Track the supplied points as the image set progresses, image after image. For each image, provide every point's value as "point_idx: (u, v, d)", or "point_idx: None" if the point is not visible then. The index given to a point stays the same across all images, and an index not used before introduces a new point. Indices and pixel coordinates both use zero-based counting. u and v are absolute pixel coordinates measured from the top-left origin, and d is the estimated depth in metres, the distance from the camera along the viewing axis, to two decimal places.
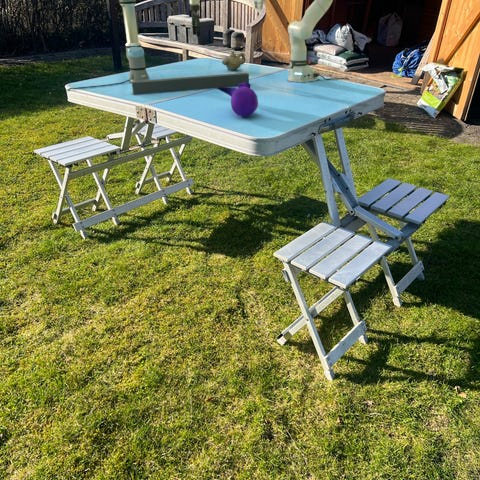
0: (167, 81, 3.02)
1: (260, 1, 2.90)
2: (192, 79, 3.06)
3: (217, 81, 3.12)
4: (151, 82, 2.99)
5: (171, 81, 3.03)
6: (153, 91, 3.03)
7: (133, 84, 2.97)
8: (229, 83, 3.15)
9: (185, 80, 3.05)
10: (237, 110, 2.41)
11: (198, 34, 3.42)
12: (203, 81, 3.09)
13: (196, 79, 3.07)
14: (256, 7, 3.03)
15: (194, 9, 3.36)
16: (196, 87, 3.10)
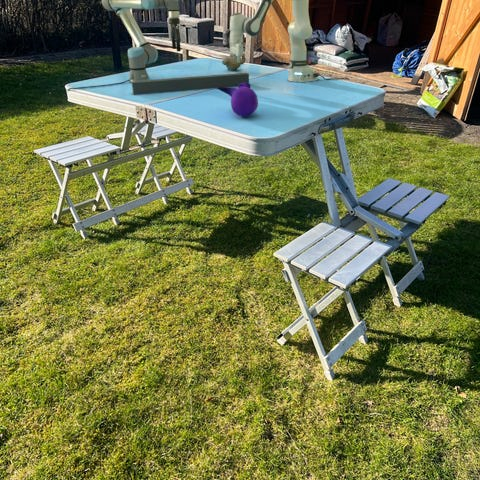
0: (167, 81, 3.02)
1: (237, 55, 3.02)
2: (192, 79, 3.06)
3: (217, 81, 3.12)
4: (151, 82, 2.99)
5: (171, 81, 3.03)
6: (153, 91, 3.03)
7: (133, 84, 2.97)
8: (229, 83, 3.15)
9: (185, 80, 3.05)
10: (237, 110, 2.41)
11: (178, 49, 3.22)
12: (203, 81, 3.09)
13: (196, 79, 3.07)
14: (234, 59, 3.15)
15: (174, 22, 3.16)
16: (196, 87, 3.10)
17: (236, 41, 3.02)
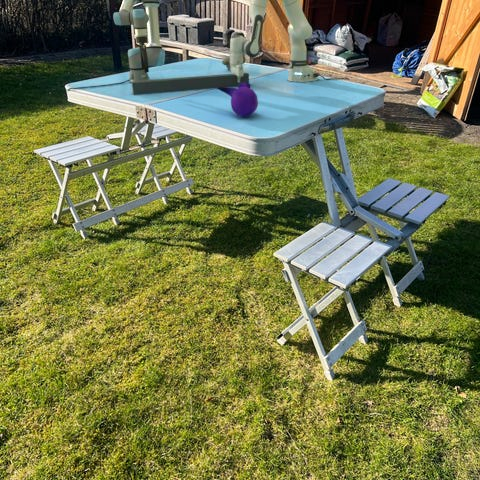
0: (167, 81, 3.02)
1: (238, 76, 3.09)
2: (192, 79, 3.06)
3: (217, 81, 3.12)
4: (151, 82, 2.99)
5: (171, 81, 3.03)
6: (153, 91, 3.03)
7: (133, 84, 2.97)
8: (229, 83, 3.15)
9: (185, 80, 3.05)
10: (237, 110, 2.41)
11: (146, 70, 2.93)
12: (203, 81, 3.09)
13: (196, 79, 3.07)
14: None
15: (140, 41, 2.87)
16: (196, 87, 3.10)
17: (236, 62, 3.09)
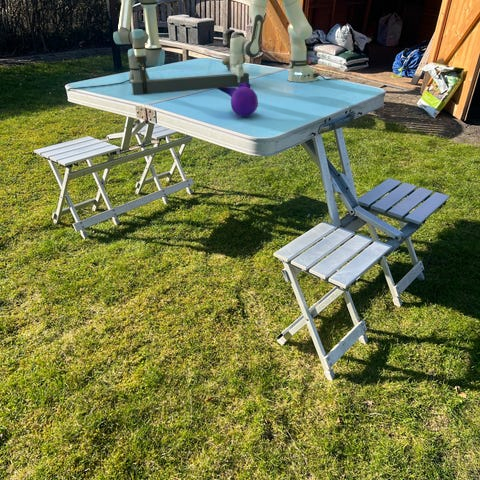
0: (167, 81, 3.02)
1: (238, 76, 3.09)
2: (192, 79, 3.06)
3: (217, 81, 3.12)
4: (151, 82, 2.99)
5: (171, 81, 3.03)
6: (153, 91, 3.03)
7: (133, 84, 2.97)
8: (229, 83, 3.15)
9: (185, 80, 3.05)
10: (237, 110, 2.41)
11: (145, 91, 3.00)
12: (203, 81, 3.09)
13: (196, 79, 3.07)
14: None
15: (140, 61, 2.90)
16: (196, 87, 3.10)
17: (236, 62, 3.09)
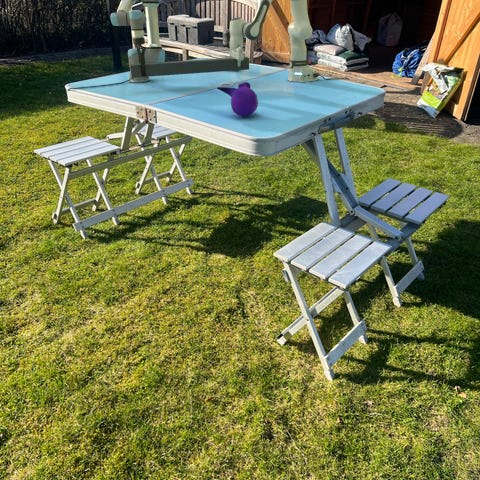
0: (166, 64, 2.97)
1: (238, 60, 3.04)
2: (191, 62, 3.01)
3: (216, 65, 3.07)
4: (150, 65, 2.94)
5: (170, 64, 2.98)
6: (152, 74, 2.98)
7: (131, 67, 2.92)
8: (229, 67, 3.10)
9: (184, 63, 3.00)
10: (237, 110, 2.41)
11: (143, 74, 2.95)
12: (203, 65, 3.04)
13: (195, 63, 3.02)
14: None
15: (137, 43, 2.85)
16: (195, 71, 3.05)
17: (236, 46, 3.03)
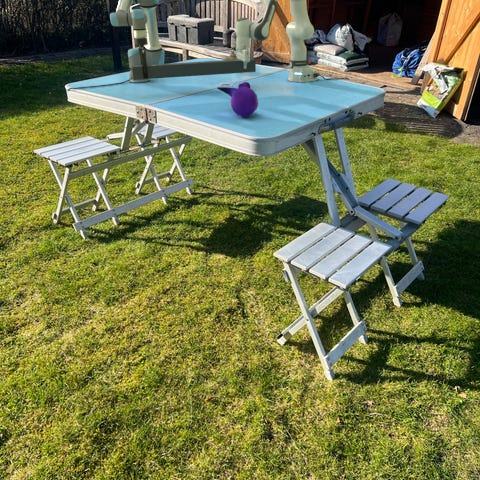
0: (169, 66, 2.84)
1: (244, 62, 2.91)
2: (196, 64, 2.89)
3: (222, 67, 2.94)
4: (152, 67, 2.82)
5: (173, 66, 2.85)
6: (154, 76, 2.85)
7: (133, 68, 2.79)
8: (235, 69, 2.98)
9: (188, 65, 2.88)
10: (237, 110, 2.41)
11: (145, 76, 2.82)
12: (207, 66, 2.92)
13: (200, 64, 2.90)
14: None
15: (140, 43, 2.73)
16: (199, 73, 2.92)
17: (242, 47, 2.91)
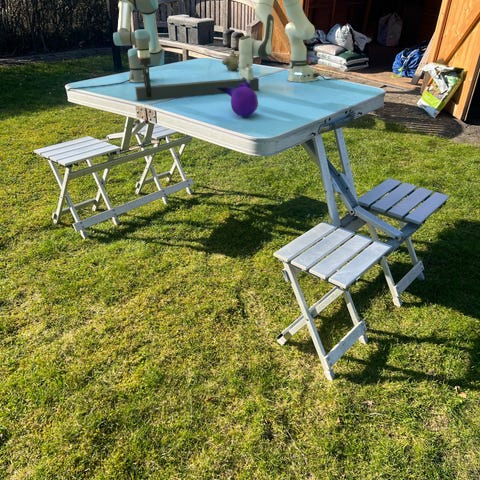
0: (173, 87, 2.86)
1: (247, 79, 2.93)
2: (199, 84, 2.91)
3: (225, 86, 2.96)
4: (156, 88, 2.84)
5: (177, 87, 2.87)
6: (158, 97, 2.87)
7: (137, 90, 2.81)
8: None
9: (192, 85, 2.90)
10: (237, 110, 2.41)
11: (149, 94, 2.83)
12: (211, 86, 2.93)
13: (203, 84, 2.91)
14: None
15: (143, 63, 2.74)
16: (203, 93, 2.94)
17: (245, 65, 2.92)
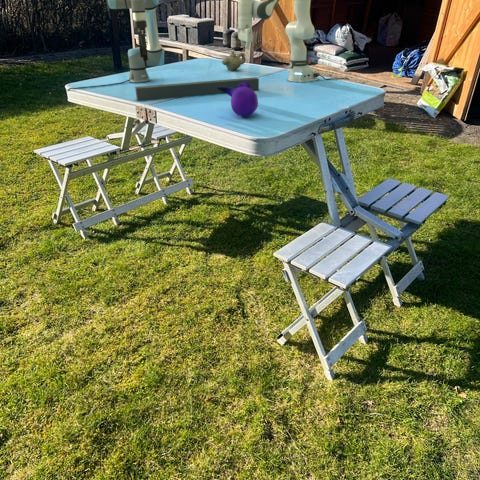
0: (173, 87, 2.86)
1: (246, 41, 2.81)
2: (199, 84, 2.91)
3: (225, 86, 2.96)
4: (156, 88, 2.84)
5: (177, 87, 2.87)
6: (158, 97, 2.87)
7: (137, 90, 2.81)
8: None
9: (192, 85, 2.90)
10: (237, 110, 2.41)
11: (145, 58, 2.69)
12: (211, 86, 2.93)
13: (203, 84, 2.91)
14: (243, 46, 2.94)
15: (139, 26, 2.63)
16: (203, 93, 2.94)
17: (245, 26, 2.80)
